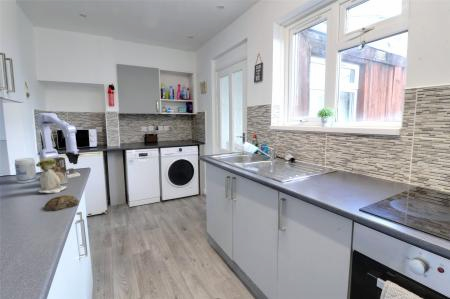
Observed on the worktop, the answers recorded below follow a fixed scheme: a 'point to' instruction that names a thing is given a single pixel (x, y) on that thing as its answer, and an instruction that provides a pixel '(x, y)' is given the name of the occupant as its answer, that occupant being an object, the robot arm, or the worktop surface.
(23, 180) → the supplement tub
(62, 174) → the coffee box
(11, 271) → the worktop surface
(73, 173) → the panel
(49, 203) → the bread roll
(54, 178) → the off-white lumpy piece
